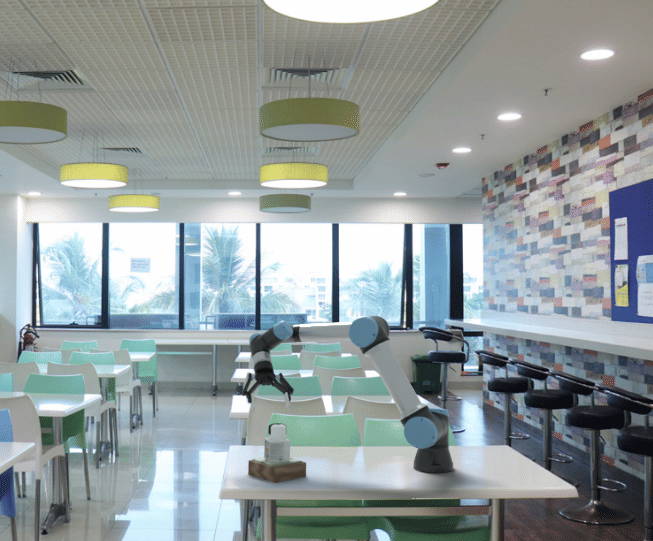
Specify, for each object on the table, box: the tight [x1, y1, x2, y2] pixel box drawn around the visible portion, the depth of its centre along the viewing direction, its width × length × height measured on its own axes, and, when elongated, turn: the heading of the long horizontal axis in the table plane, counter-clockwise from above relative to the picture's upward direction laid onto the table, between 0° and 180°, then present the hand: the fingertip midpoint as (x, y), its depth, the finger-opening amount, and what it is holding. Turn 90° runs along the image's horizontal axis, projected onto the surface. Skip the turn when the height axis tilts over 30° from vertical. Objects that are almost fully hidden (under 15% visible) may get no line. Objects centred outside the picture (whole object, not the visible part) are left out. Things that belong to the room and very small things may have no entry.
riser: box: [247, 456, 307, 484], centre depth 249 cm, size 16×14×6 cm
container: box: [263, 422, 291, 463], centre depth 250 cm, size 8×8×13 cm
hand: (271, 408), depth 260 cm, fingers open, 13 cm apart
